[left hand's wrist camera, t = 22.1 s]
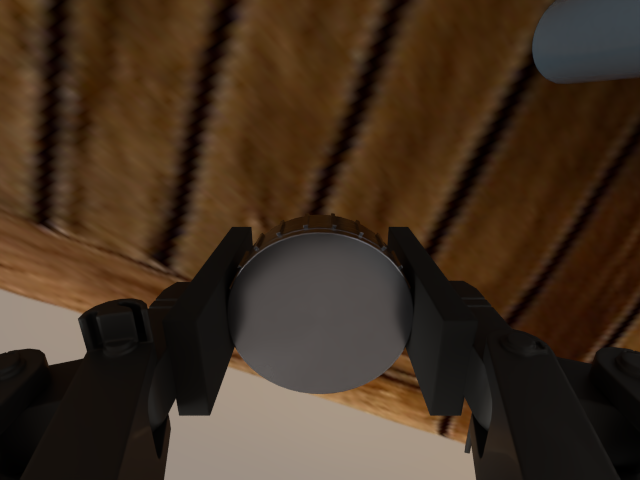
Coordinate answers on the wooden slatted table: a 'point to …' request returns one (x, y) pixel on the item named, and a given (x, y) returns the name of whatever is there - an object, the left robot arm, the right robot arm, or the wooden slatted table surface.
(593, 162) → the wooden slatted table surface
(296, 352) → the lid
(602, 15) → the jar
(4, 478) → the left robot arm
